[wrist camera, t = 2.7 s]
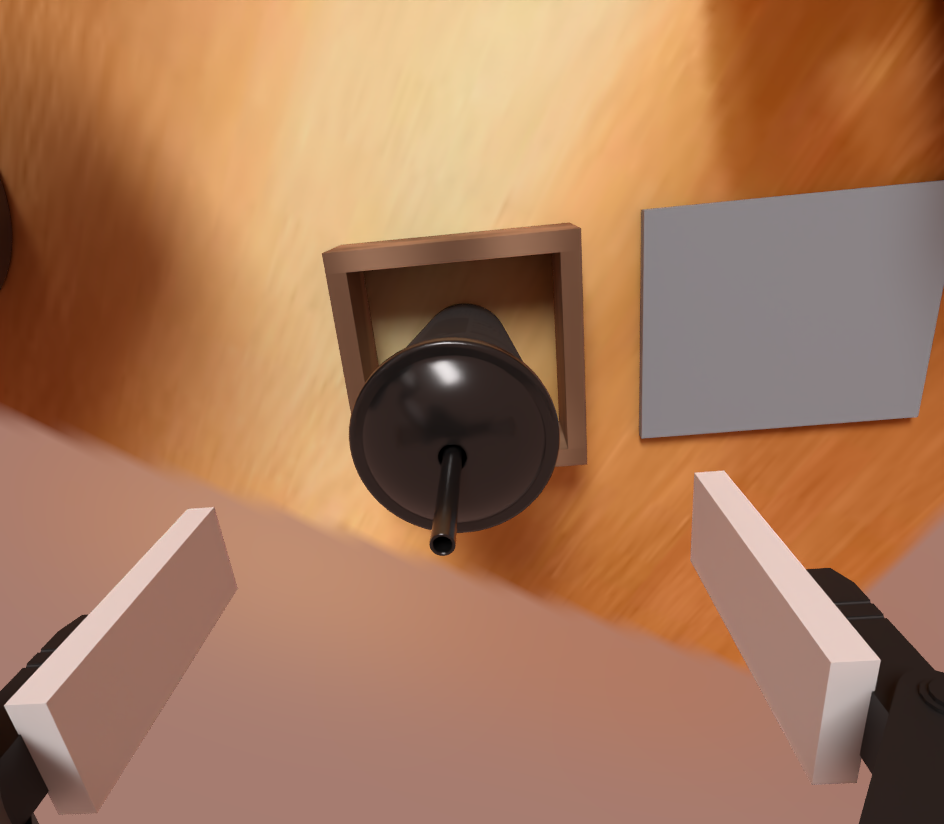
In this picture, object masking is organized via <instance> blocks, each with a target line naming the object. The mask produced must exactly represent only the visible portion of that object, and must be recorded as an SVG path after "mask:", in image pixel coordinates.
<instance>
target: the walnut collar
mask: <svg viewBox="0 0 944 824" xmlns="http://www.w3.org/2000/svg"><path fill="white" fill-rule="evenodd" d="M546 253H552V268H553V291H554V313H555V336H556V359H557V381H558V404H559V421H558V423H559V430H560V446H559V453H558V458H557V462H556V465H555V467H559V466H572V465H585V464H587V440H586V402H585V363H584V325H583V287H582V248H581V228H579V227H577V226H575V225H573V224H571V223H562V224H552V225H541V226H531V227H521V228H511V229H500V230H490V231H480V232H470V233H459V234H449V235H439V236H429V237H418V238H408V239H398V240H388V241H377V242H367V243H357V244H347V245H340V246H338V247H335V248H333V249H331V250H329V251H326V252H324V253H322V257H323V262H324V267H325V273H326V278H327V284H328V289H329V295H330V300H331V306H332V311H333V317H334V322H335V328H336V333H337V339H338V344H339V350H340V355H341V361H342V366H343V372H344V377H345V383H346V388H347V394H348V399H349V404H350V410H351V414H352V410H353V407H354V404H355V401H356V399H357V397H358V394H359V392H360V390H361V389H362V387H363V386H364V384H365V382H366V381H367V379H368V378H369V377H370V376H371V374H372V373H373V372H374V371H375V370H376V369H377V368H378V360H377V354H376V348H375V341H374V335H373V329H372V323H371V316H370V310H369V304H368V298H367V291H366V285H365V279H364V272H363V271H367V270H378V269H388V268H399V267H409V266H420V265H430V264H441V263H452V262H462V261H473V260H483V259H494V258H504V257H515V256H525V255H536V254H546Z"/></svg>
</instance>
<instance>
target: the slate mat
mask: <svg viewBox="0 0 944 824" xmlns="http://www.w3.org/2000/svg"><path fill="white" fill-rule="evenodd" d="M943 286H944V180H940V181H930V182H920V183H910V184H900V185H889V186H879V187H869V188H859V189H849V190H838V191H828V192H818V193H808V194H798V195H787V196H777V197H767V198H757V199H747V200H736V201H726V202H716V203H706V204H696V205H685V206H675V207H665V208H655V209H645V210H641V299H640V403H639V435H640V437H641V438H655V437H668V436H680V435H693V434H706V433H719V432H732V431H744V430H757V429H770V428H783V427H796V426H808V425H821V424H834V423H847V422H859V421H872V420H885V419H898V418H911V417H918V414H919V409H920V404H921V398H922V393H923V388H924V383H925V378H926V373H927V368H928V363H929V358H930V352H931V347H932V342H933V337H934V332H935V327H936V322H937V317H938V312H939V306H940V301H941V296H942V291H943Z"/></svg>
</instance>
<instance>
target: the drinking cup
mask: <svg viewBox="0 0 944 824" xmlns="http://www.w3.org/2000/svg"><path fill="white" fill-rule="evenodd" d="M349 442H350V450H351V455H352V459H353V462H354V465H355V467H356V470H357V472H358V474H359V476H360V478H361V480H362V482H363V483H364V485H365V486H366V488H367V489H368V490H369V492H370V493H371V494H372V495H373V496H374V498H375V499H376V500H377V501H378V502H379V503H380V504H381V505H383V506H384V507H385V508H386V509H387V510H389V511H390V512H392V513H393V514H394V515H396V516H398V517H399V518H401V519H403V520H405V521H407V522H409V523H411V524H414V525H416V526H419V527H422V528H425V529H429V530H432V531H431V538H430V548H431V550H432V551H433V552H434V553H435V554H437V555H441V556H445V555H449V554H450V553H452V552H453V551H454V549H455V544H456V533H464V532H473V531H479V530H483V529H487V528H491V527H493V526H496V525H499V524H501V523H503V522H506V521H508V520H509V519H511V518H513V517H515V516H516V515H518V514H519V513H520V512H522V511H523V510H524V509H526V508H527V507H528V506H529V505H530V504H531V503H532V502H533V501H534V500H535V499H536V498H537V497H538V496H539V494H540V493H541V492H542V491H543V489H544V488H545V486H546V485H547V483H548V481H549V479H550V477H551V475H552V473H553V471H554V468H555V465H556V462H557V458H558V453H559V446H560V430H559V423H558V417H557V414H556V410H555V407H554V404H553V402H552V399H551V397H550V395H549V393H548V391H547V389H546V388H545V386H544V385H543V383H542V382H541V380H540V379H539V378H538V376H537V375H536V374H535V373H534V372H533V371H532V370H531V369H530V368H529V367H528V366H527V365H526V364H525V363H524V362H523V361H522V359H521V357H520V356H519V354H518V352H517V350H516V349H515V347H514V345H513V343H512V341H511V340H510V338H509V336H508V334H507V332H506V331H505V329H504V327H503V325H502V324H501V322H500V321H499V319H498V318H497V317H496V316H495V315H494V314H493V313H491V312H490V311H489V310H487V309H485V308H483V307H481V306H478V305H474V304H457V305H453V306H450V307H448V308H446V309H444V310H442V311H441V312H439V313H438V314H437V315H436V316H435V317H434V318H433V319H432V320H431V321H430V322H429V323H428V324H427V326H426V327H425V328H424V329H423V330H422V331H421V332H420V333H419V334H418V335H417V336H416V337H415V338H414V339H413V341H412V342H411V343H410V344H409V345H408V346H407V347H406V348H404V349H403V350H401V351H399V352H397V353H395V354H394V355H392V356H391V357H389V358H388V359H387V360H386V361H384V362H383V363H382V364H381V365H380V366H379V367H378V368H377V369H376V370H375V371H374V372H373V373H372V374H371V376H370V377H369V378H368V379H367V381H366V382H365V384H364V386H363V387H362V389H361V390H360V392H359V394H358V397H357V399H356V401H355V404H354V407H353V410H352V414H351V418H350V426H349Z"/></svg>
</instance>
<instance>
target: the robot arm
mask: <svg viewBox="0 0 944 824" xmlns="http://www.w3.org/2000/svg"><path fill="white" fill-rule="evenodd" d="M11 251H12V226H11V217H10V212H9V206H8V202H7V198H6V194H5V191H4V188H3V185H2V182H1V180H0V289H1V287H2V285H3V283H4V280H5V278H6V275H7V272H8V268H9V264H10V259H11ZM691 562H692V564H693V566H694V568H695V569H696V571H697V573H698V575H699V577H700V579H701V581H702V582H703V584H704V586H705V588H706V590H707V592H708V594H709V595H710V597H711V599H712V601H713V603H714V605H715V606H716V608H717V610H718V612H719V614H720V616H721V618H722V619H723V621H724V623H725V625H726V627H727V629H728V631H729V632H730V634H731V636H732V638H733V640H734V642H735V644H736V645H737V647H738V649H739V651H740V653H741V655H742V657H743V658H744V660H745V662H746V664H747V666H748V668H749V669H750V671H751V673H752V675H753V677H754V679H755V681H756V682H757V684H758V686H759V688H760V690H761V692H762V694H763V695H764V697H765V699H766V701H767V703H768V705H769V707H770V708H771V710H772V712H773V714H774V716H775V718H776V719H777V721H778V723H779V725H780V727H781V729H782V731H783V732H784V734H785V736H786V738H787V740H788V741H789V744H790V745H791V747H792V749H793V751H794V753H795V755H796V757H797V758H798V760H799V762H800V764H801V766H802V768H803V770H804V771H805V773H806V775H807V777H808V778H809V780H810V782H811V784H812V785H813V784H814V785H815V784H840V783H857V778H858V773H859V768H860V763H861V758H862V759H863V761H864V762H865V764H866V765H867V767H868V768H869V770H870V772H871V773H872V778H871V781H870V785H869V789H868V792H867V796H866V799H865V803H864V807H863V810H862V814H861V818H860V822H859V824H944V673H943V672H939V671H936V670H934V669H933V668H932V667H931V666H930V664H928V662H927V661H926V660H925V659H924V658H923V657H922V656H921V655H920V654H919V653H918V651H917V650H916V649H915V648H914V647H913V646H912V645H911V644H910V643H909V642H908V641H907V640H906V638H905V637H904V636H903V635H902V634H901V633H900V632H899V631H898V630H897V629H896V628H895V626H893V624H892V623H891V622H890V621H889V620H888V619H887V618H884V616H883V614H882V612H881V611H880V610H879V609H878V608H877V607H876V606H875V605H874V604H871V603H870V599H868V597H867V596H866V595H865V594H864V593H863V592H862V591H861V590H860V589H859V587H858V586H857V585H856V584H855V583H854V582H852V581H851V580H849V579H847V578H846V577H844V576H842V575H841V574H839V573H838V572H836V571H834V570H833V569H831V568H820V569H805V568H804V567H803V566H802V564H801V563H800V562H799V561H798V559H797V558H796V557H795V556H794V555H793V553H792V552H791V551H790V550H789V549H788V547H787V546H786V545H785V544H784V543H783V541H782V540H781V539H780V538H779V537H778V535H777V534H776V533H775V532H774V530H773V529H772V528H771V527H770V526H769V524H768V523H767V522H766V521H765V520H764V518H763V517H762V516H761V515H760V514H759V512H758V511H757V510H756V509H755V508H754V506H753V505H752V504H751V503H750V501H749V500H748V499H747V498H746V497H745V495H744V494H743V493H742V492H741V491H740V489H739V488H738V487H737V486H736V485H735V483H734V482H733V481H732V480H731V479H730V477H729V476H728V475H727V474H726V472H725V471H713V472H699V473H694V495H693V517H692V539H691ZM236 590H237V585H236V582H235V578H234V574H233V571H232V567H231V564H230V560H229V557H228V554H227V550H226V546H225V543H224V539H223V536H222V532H221V529H220V526H219V522H218V519H217V515H216V512H215V508H214V507H208V508H193V509H187V510H186V511H185V512H184V513H183V514H182V515H181V516H180V518H179V519H178V520H177V521H176V522H175V523H174V524H173V525H172V526H171V527H170V528H169V530H167V531H166V533H165V534H164V535H163V536H162V537H161V538H160V539H159V540H158V541H157V542H156V543H155V544H154V545H153V546H152V548H151V549H150V550H149V551H148V552H147V553H146V554H145V555H144V556H143V557H142V558H141V559H140V560H139V561H138V562H137V564H136V565H135V566H134V567H133V568H132V569H131V570H130V571H129V572H128V573H127V574H126V575H125V576H124V577H123V579H122V580H121V581H120V582H119V583H118V584H117V585H116V586H115V587H114V588H113V589H112V590H111V591H110V592H109V594H108V595H107V596H106V597H105V598H104V599H103V600H102V601H101V602H100V603H99V604H98V605H97V606H96V608H95V609H94V610H93V611H92V612H91V613H90V614H89V615H82V616H80V617H78V618H77V619H76V620H74V621H73V622H71V623H70V624H68V625H67V626H65V627H64V628H62V629H61V630H60V631H58V632H57V633H56V634H55V635H54V636H53V637H52V638H51V640H50V641H49V642H48V643H47V644H46V645H45V646H44V647H43V648H42V649H41V652H40V653H37V654H36V655H35V656H34V657H33V658H32V659H31V660H30V661H29V662H28V663H27V666H26V668H22V669H21V670H20V672H19V673H18V674H17V675H16V676H15V677H14V678H13V679H12V680H11V681H10V682H9V683H8V684H7V685H6V686H5V687H4V688H3V689H2V690H1V691H0V824H39V823H38V821H37V819H36V817H35V815H34V813H33V812H34V811H35V809H36V808H37V807H38V805H39V804H40V802H41V801H42V800H43V798H44V797H45V796H46V794H47V793H48V794H49V796H50V798H51V800H52V802H53V804H54V806H55V808H56V810H57V812H58V814H59V815H63V814H89V813H98V811H99V809H100V808H101V806H102V805H103V803H104V802H105V800H106V798H107V797H108V795H109V794H110V792H111V790H112V789H113V787H114V786H115V784H116V782H117V781H118V779H119V778H120V776H121V774H122V773H123V771H124V769H125V768H126V766H127V765H128V763H129V762H130V760H131V758H132V757H133V755H134V754H135V752H136V750H137V749H138V747H139V746H140V744H141V742H142V741H143V739H144V737H145V736H146V734H147V733H148V731H149V730H150V728H151V726H152V725H153V723H154V722H155V720H156V718H157V717H158V715H159V714H160V712H161V710H162V708H163V707H164V706H165V704H166V702H167V701H168V699H169V697H170V696H171V694H172V692H173V691H174V690H175V688H176V686H177V685H178V683H179V682H180V680H181V678H182V677H183V675H184V673H185V672H186V670H187V669H188V667H189V665H190V664H191V662H192V661H193V659H194V658H195V656H196V654H197V653H198V651H199V649H200V648H201V646H202V645H203V643H204V642H205V640H206V638H207V637H208V635H209V634H210V632H211V630H212V629H213V627H214V626H215V624H216V622H217V621H218V619H219V618H220V616H221V614H222V613H223V611H224V610H225V608H226V606H227V605H228V603H229V602H230V600H231V598H232V597H233V595H234V594H235V592H236Z"/></svg>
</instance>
